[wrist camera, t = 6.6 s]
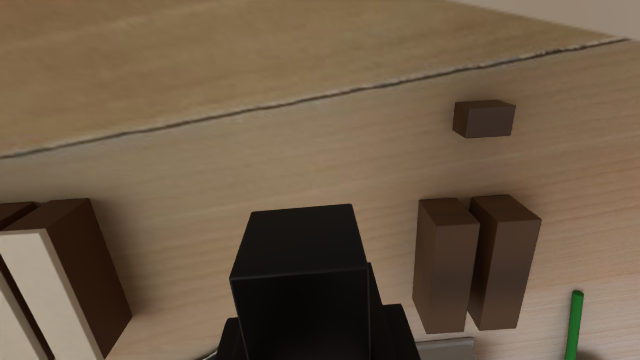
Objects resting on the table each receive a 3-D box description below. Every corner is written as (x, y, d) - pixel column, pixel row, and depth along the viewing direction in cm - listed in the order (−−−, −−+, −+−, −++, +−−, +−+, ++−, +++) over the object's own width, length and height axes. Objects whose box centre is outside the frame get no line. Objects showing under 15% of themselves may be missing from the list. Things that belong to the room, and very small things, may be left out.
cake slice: (49, 200, 25) (-10, 236, 20) (88, 197, 25) (38, 233, 20) (99, 318, 30) (61, 369, 25) (133, 316, 30) (100, 367, 25)
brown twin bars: (425, 104, 23) (447, 116, 19) (527, 97, 23) (569, 108, 19) (411, 298, 30) (426, 334, 26) (490, 293, 30) (516, 328, 26)
